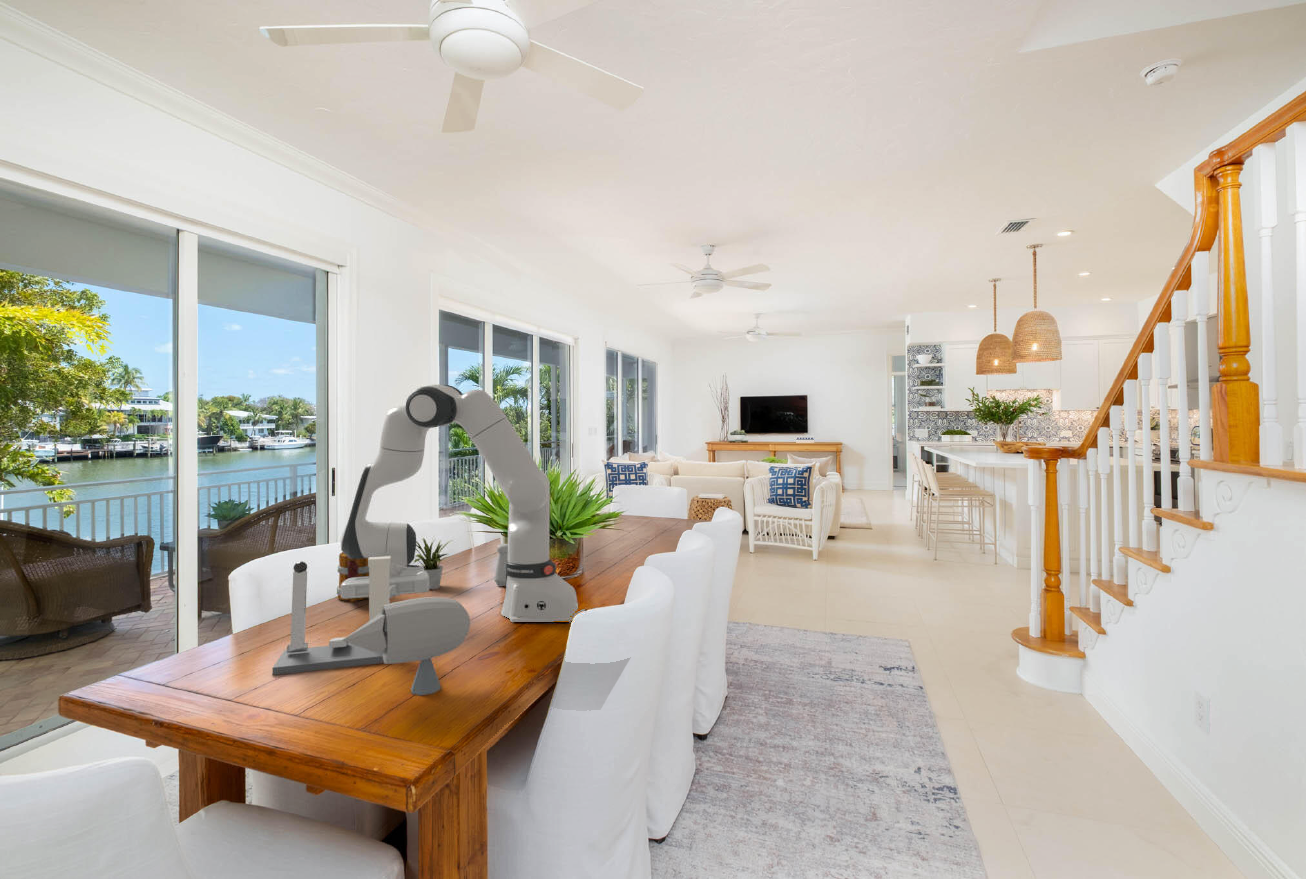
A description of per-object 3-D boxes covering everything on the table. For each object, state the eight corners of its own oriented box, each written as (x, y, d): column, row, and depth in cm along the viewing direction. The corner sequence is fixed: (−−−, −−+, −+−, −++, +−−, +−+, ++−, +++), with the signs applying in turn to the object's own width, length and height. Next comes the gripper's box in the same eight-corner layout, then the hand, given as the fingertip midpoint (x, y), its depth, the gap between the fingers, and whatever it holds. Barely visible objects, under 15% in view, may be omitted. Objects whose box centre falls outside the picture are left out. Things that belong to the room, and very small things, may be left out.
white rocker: (332, 644, 133) (332, 638, 133) (349, 643, 134) (349, 636, 134) (328, 648, 128) (328, 641, 128) (346, 646, 129) (346, 639, 129)
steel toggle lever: (289, 651, 129) (292, 561, 131) (308, 650, 130) (311, 560, 132) (286, 654, 126) (289, 562, 129) (305, 652, 127) (308, 561, 130)
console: (284, 656, 130) (284, 649, 130) (395, 645, 137) (395, 639, 137) (272, 674, 121) (272, 667, 121) (391, 661, 128) (391, 654, 128)
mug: (379, 589, 183) (379, 540, 183) (373, 605, 168) (373, 551, 167) (340, 592, 180) (340, 542, 179) (329, 608, 164) (329, 553, 164)
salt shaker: (508, 588, 187) (508, 546, 186) (490, 587, 188) (491, 545, 187) (515, 583, 192) (516, 543, 192) (499, 582, 193) (499, 542, 193)
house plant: (391, 592, 180) (391, 538, 180) (417, 580, 194) (417, 530, 194) (435, 595, 178) (435, 540, 178) (458, 583, 192) (458, 532, 191)
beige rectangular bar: (369, 642, 134) (369, 557, 133) (390, 640, 135) (390, 556, 135) (367, 646, 132) (368, 559, 131) (389, 644, 133) (389, 558, 133)
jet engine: (376, 673, 122) (377, 588, 121) (475, 674, 122) (476, 589, 122) (339, 708, 107) (339, 610, 107) (451, 709, 107) (452, 611, 107)
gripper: (344, 570, 153) (335, 584, 140) (429, 565, 160) (428, 577, 147) (344, 595, 153) (335, 610, 140) (429, 588, 160) (428, 603, 147)
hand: (383, 593), depth 144 cm, fingers closed
